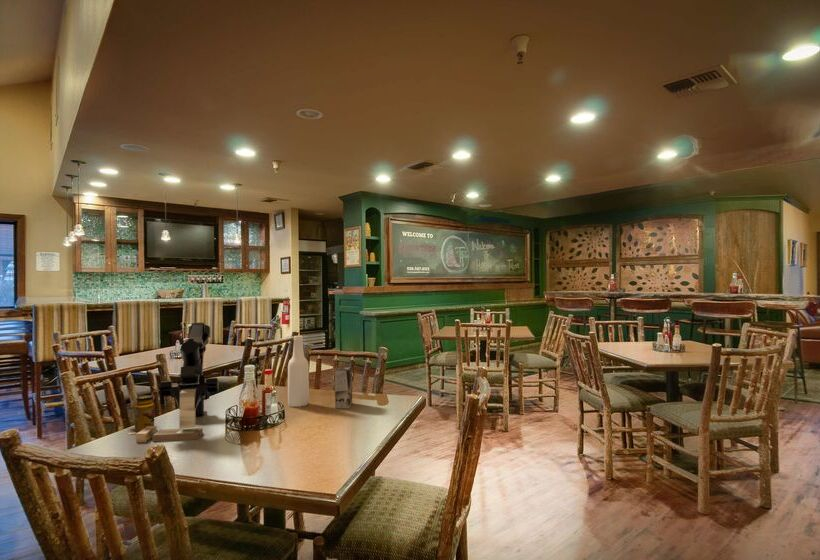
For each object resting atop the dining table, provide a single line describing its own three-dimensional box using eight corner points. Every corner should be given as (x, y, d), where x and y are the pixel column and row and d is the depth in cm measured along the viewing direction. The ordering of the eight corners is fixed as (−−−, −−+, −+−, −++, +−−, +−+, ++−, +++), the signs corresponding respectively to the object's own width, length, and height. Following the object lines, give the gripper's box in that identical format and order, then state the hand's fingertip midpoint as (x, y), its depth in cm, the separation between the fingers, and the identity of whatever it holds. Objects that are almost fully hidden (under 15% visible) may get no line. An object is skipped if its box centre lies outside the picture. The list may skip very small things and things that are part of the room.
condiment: (155, 430, 158) (156, 397, 159) (127, 435, 154) (128, 400, 154) (154, 425, 164) (154, 393, 165) (127, 429, 160) (127, 396, 160)
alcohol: (306, 401, 199) (306, 334, 199) (310, 406, 191) (310, 336, 191) (286, 403, 195) (286, 335, 196) (289, 408, 187) (289, 337, 188)
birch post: (181, 425, 153) (181, 390, 154) (195, 423, 155) (195, 389, 155) (179, 428, 149) (179, 393, 150) (194, 427, 151) (194, 392, 151)
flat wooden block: (160, 435, 153) (160, 428, 153) (202, 433, 155) (202, 427, 155) (152, 441, 147) (152, 434, 147) (196, 439, 149) (196, 432, 149)
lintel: (147, 435, 155) (147, 426, 155) (156, 434, 155) (156, 426, 155) (136, 442, 147) (136, 433, 147) (145, 442, 147) (146, 433, 147)
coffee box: (349, 408, 187) (349, 370, 187) (334, 408, 187) (334, 370, 187) (352, 403, 196) (352, 366, 196) (338, 403, 196) (338, 366, 196)
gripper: (159, 358, 153) (153, 397, 143) (218, 355, 160) (216, 392, 149) (163, 376, 160) (157, 415, 150) (219, 373, 167) (217, 410, 156)
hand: (187, 408), depth 151 cm, fingers closed on birch post, 4 cm apart
